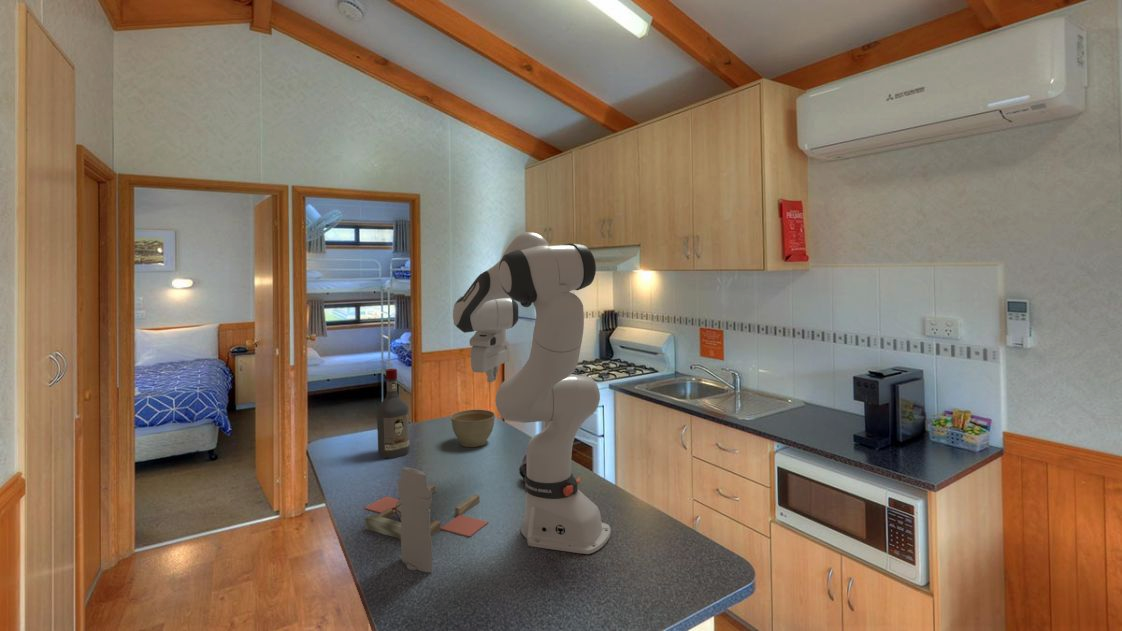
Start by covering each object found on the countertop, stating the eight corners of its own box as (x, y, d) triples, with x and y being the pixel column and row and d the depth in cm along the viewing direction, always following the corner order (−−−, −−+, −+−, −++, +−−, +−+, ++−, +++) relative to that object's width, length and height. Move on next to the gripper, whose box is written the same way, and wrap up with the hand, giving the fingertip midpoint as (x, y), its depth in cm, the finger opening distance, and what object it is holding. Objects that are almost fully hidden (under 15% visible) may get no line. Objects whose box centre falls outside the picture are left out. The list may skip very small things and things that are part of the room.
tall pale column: (393, 561, 118) (390, 466, 116) (408, 553, 122) (405, 460, 120) (425, 577, 112) (422, 477, 110) (440, 568, 116) (437, 471, 114)
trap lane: (479, 502, 148) (479, 491, 148) (418, 544, 126) (418, 532, 125) (431, 491, 155) (431, 481, 155) (366, 529, 133) (365, 517, 133)
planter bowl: (490, 434, 207) (490, 407, 206) (499, 448, 192) (498, 418, 191) (449, 439, 202) (448, 411, 201) (454, 453, 187) (453, 423, 186)
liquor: (376, 453, 187) (373, 369, 184) (400, 447, 193) (397, 366, 190) (387, 460, 180) (384, 373, 177) (412, 453, 186) (409, 369, 184)
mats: (488, 523, 136) (488, 521, 136) (469, 537, 129) (469, 536, 129) (385, 497, 151) (385, 496, 151) (364, 508, 144) (364, 507, 144)
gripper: (496, 331, 172) (496, 373, 174) (466, 341, 153) (467, 387, 154) (514, 332, 170) (514, 374, 172) (486, 342, 151) (487, 389, 152)
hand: (492, 381), depth 163 cm, fingers closed
